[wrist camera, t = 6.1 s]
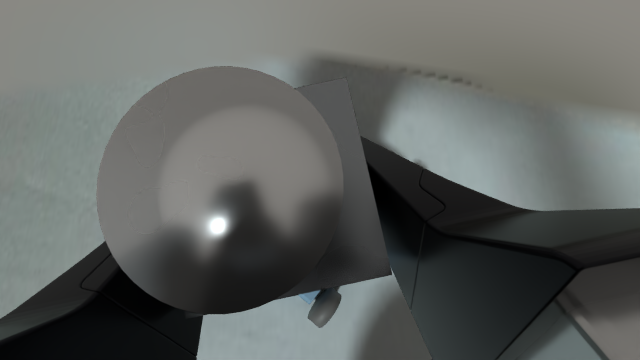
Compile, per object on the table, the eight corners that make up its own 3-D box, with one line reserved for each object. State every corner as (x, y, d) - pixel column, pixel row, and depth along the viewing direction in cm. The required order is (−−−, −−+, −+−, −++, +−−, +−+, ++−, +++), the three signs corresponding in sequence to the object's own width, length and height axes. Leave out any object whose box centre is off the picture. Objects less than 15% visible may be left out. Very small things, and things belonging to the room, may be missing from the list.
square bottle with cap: (349, 230, 16) (459, 344, 3) (271, 246, 16) (50, 433, 3) (332, 153, 16) (364, -29, 4) (257, 169, 16) (9, 45, 4)
